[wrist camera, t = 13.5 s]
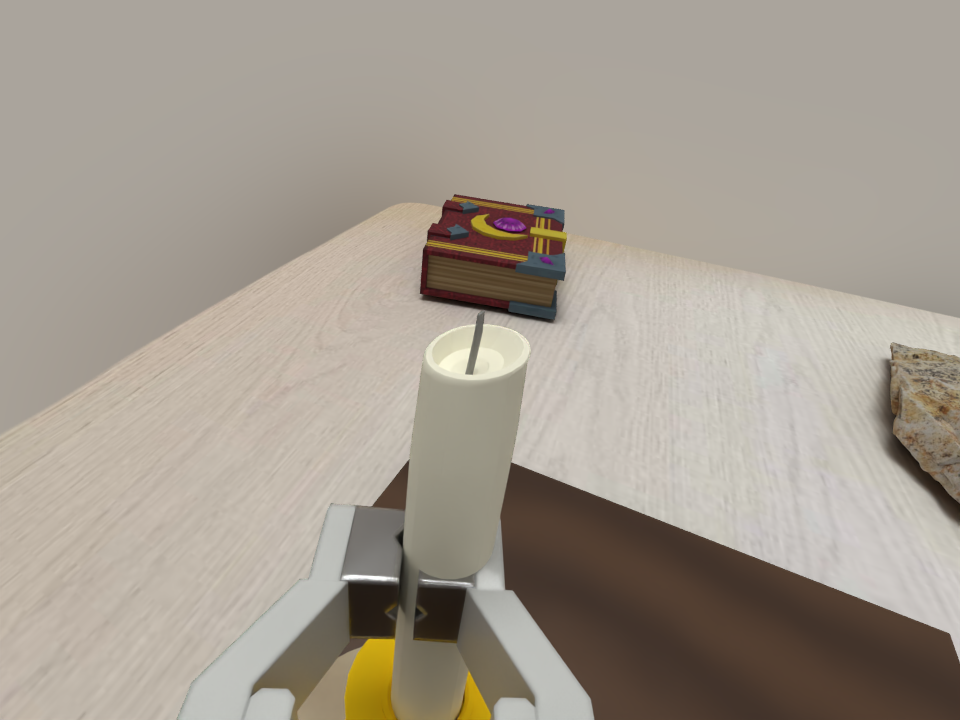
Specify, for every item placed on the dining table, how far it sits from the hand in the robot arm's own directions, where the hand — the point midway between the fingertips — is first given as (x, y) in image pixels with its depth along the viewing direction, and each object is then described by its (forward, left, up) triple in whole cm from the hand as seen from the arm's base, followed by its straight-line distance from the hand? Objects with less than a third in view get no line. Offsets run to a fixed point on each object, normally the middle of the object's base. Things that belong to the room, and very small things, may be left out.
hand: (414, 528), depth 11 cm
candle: (0, -1, -10) cm, 10 cm away
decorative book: (+18, +34, -12) cm, 41 cm away
